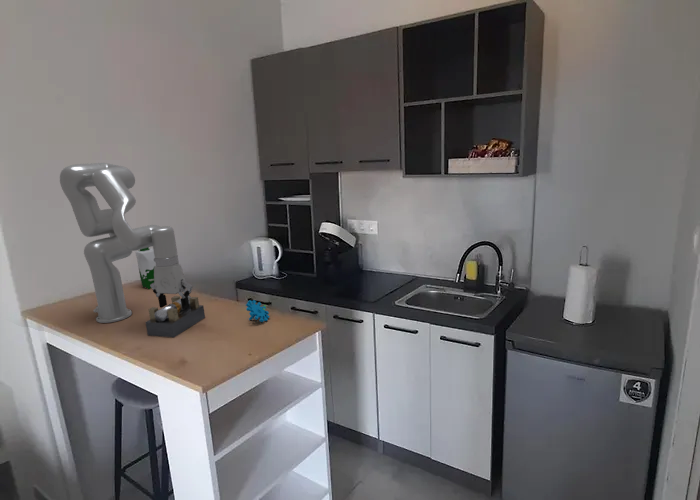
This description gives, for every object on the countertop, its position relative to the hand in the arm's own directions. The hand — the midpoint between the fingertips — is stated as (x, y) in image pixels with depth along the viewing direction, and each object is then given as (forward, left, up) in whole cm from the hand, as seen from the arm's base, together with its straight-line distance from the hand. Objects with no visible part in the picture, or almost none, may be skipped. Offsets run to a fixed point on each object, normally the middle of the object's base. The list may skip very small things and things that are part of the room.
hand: (174, 306), depth 159 cm
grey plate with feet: (0, 0, -7) cm, 7 cm away
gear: (+28, +10, -8) cm, 31 cm away
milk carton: (-47, +42, -8) cm, 64 cm away
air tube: (0, 0, 0) cm, 0 cm away
